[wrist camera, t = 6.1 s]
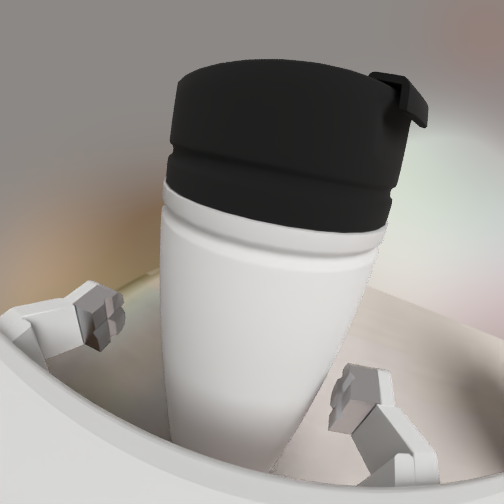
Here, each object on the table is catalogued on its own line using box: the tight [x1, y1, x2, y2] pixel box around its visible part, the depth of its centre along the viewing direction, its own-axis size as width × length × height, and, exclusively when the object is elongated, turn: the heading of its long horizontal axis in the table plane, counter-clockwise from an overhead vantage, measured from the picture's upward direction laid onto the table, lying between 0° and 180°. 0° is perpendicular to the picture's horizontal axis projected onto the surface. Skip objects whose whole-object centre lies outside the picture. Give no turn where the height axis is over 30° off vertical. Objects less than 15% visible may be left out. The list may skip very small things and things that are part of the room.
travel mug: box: [160, 59, 428, 473], centre depth 11 cm, size 6×7×20 cm
